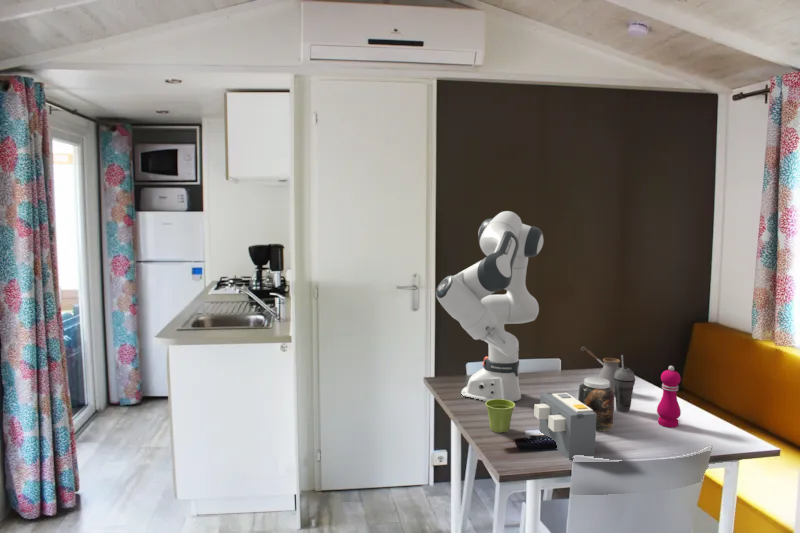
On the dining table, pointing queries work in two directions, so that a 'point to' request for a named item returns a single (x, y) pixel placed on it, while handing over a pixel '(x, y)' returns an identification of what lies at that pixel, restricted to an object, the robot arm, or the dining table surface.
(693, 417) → the dining table surface
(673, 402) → the pepper mill
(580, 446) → the console
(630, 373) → the beverage cup
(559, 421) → the button
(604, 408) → the jar
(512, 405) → the plant pot
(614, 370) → the coffee pot
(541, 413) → the button
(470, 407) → the dining table surface
